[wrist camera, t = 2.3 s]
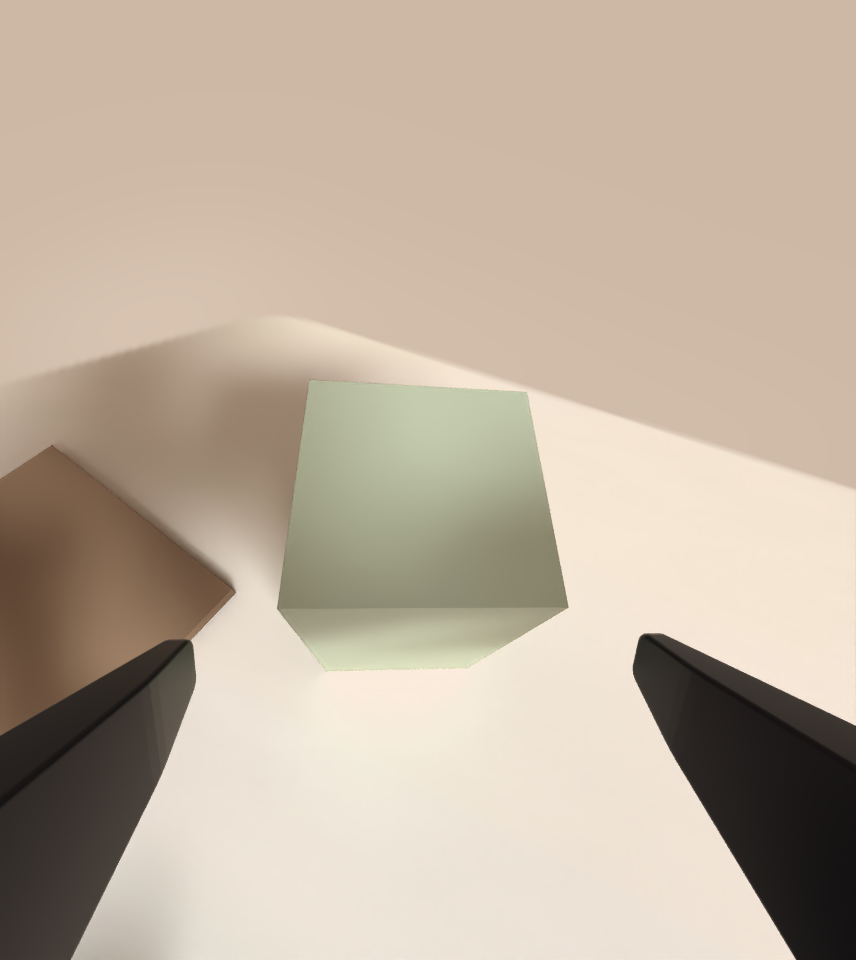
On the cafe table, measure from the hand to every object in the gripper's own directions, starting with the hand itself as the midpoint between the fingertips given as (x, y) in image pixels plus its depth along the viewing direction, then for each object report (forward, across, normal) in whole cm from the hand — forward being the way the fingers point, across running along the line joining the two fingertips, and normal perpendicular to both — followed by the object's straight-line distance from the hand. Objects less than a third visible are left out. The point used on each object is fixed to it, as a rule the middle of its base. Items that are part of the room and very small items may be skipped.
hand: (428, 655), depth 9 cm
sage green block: (+10, 0, +5) cm, 11 cm away
